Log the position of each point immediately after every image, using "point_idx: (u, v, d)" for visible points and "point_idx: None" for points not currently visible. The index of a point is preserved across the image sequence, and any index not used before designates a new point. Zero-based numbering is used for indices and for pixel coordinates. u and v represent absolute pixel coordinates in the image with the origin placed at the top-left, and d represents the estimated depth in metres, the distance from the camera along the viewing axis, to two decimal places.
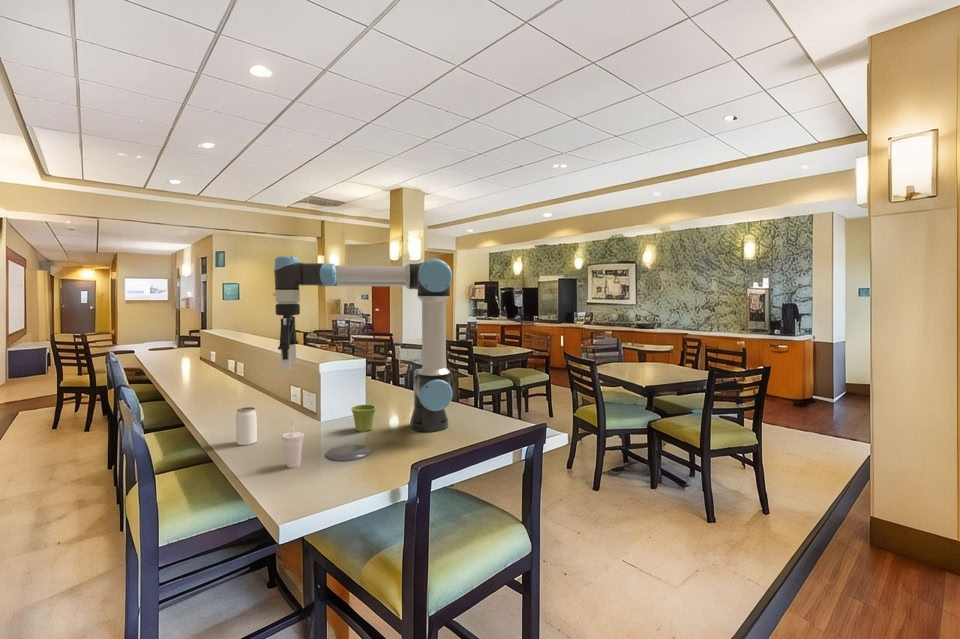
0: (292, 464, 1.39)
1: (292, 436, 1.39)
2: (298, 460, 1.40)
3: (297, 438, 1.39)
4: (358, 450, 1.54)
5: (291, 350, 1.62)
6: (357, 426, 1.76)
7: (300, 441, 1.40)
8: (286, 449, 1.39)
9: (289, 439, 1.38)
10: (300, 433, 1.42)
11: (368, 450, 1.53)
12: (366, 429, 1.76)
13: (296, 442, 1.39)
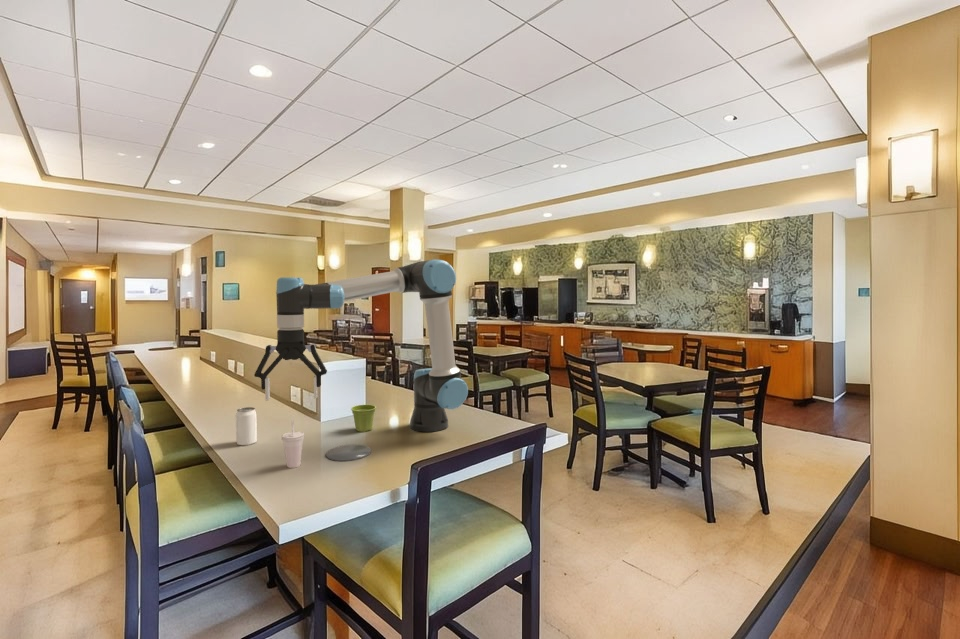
0: (292, 464, 1.39)
1: (292, 436, 1.39)
2: (298, 460, 1.40)
3: (297, 438, 1.39)
4: (358, 450, 1.54)
5: None
6: (357, 426, 1.76)
7: (300, 441, 1.40)
8: (286, 449, 1.39)
9: (289, 439, 1.38)
10: (300, 433, 1.42)
11: (368, 450, 1.53)
12: (366, 429, 1.76)
13: (296, 442, 1.39)
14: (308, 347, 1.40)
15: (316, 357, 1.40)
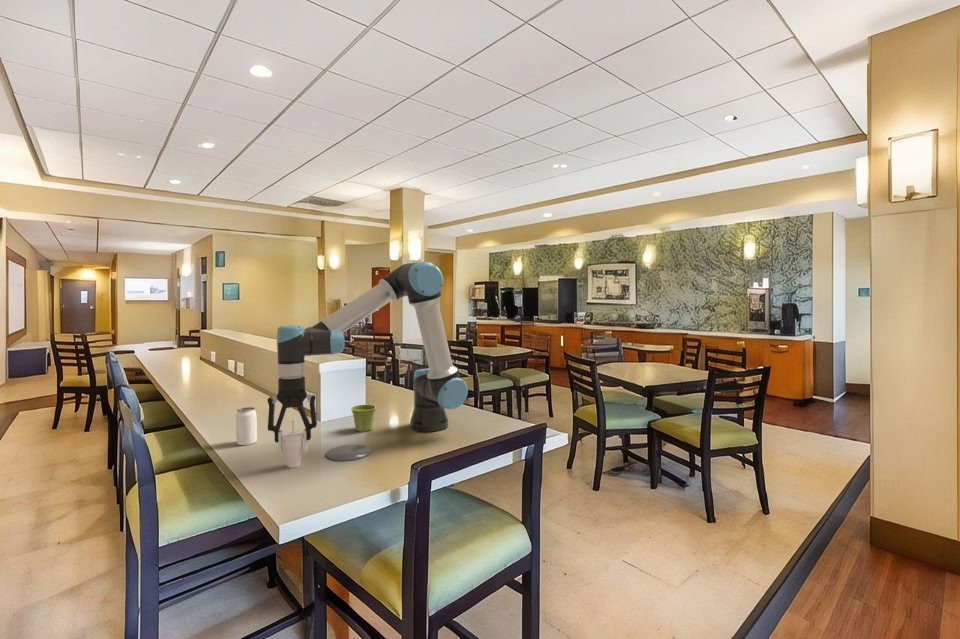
0: (292, 464, 1.39)
1: (292, 436, 1.39)
2: (298, 460, 1.40)
3: (297, 438, 1.39)
4: (358, 450, 1.54)
5: None
6: (357, 426, 1.76)
7: (300, 441, 1.40)
8: (286, 449, 1.39)
9: (289, 439, 1.38)
10: (300, 433, 1.42)
11: (368, 450, 1.53)
12: (366, 429, 1.76)
13: (296, 442, 1.39)
14: (309, 396, 1.41)
15: (312, 409, 1.41)
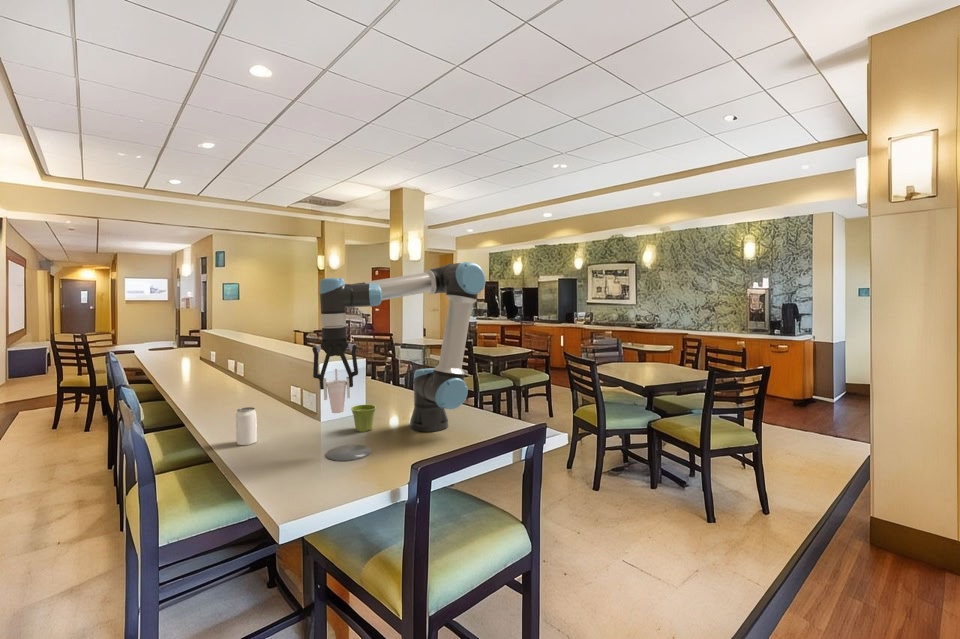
0: (337, 409, 1.47)
1: (336, 383, 1.46)
2: (342, 406, 1.48)
3: (341, 384, 1.46)
4: (358, 450, 1.54)
5: None
6: (357, 426, 1.76)
7: (343, 388, 1.48)
8: (331, 395, 1.46)
9: (334, 385, 1.45)
10: (343, 381, 1.50)
11: (368, 450, 1.53)
12: (366, 429, 1.76)
13: (340, 388, 1.46)
14: (350, 346, 1.48)
15: (354, 357, 1.48)
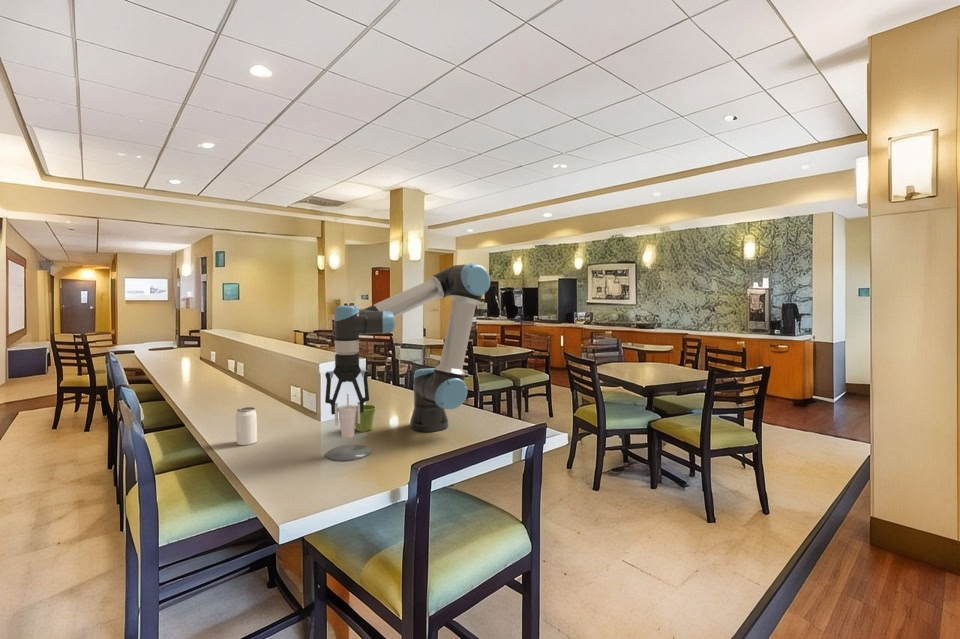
0: (347, 434, 1.50)
1: (347, 408, 1.49)
2: (352, 431, 1.51)
3: (352, 410, 1.49)
4: (358, 450, 1.54)
5: None
6: (357, 426, 1.76)
7: (354, 413, 1.50)
8: (342, 420, 1.49)
9: (345, 411, 1.48)
10: (354, 406, 1.53)
11: (368, 450, 1.53)
12: (366, 429, 1.76)
13: (351, 414, 1.49)
14: (362, 372, 1.51)
15: (366, 383, 1.51)
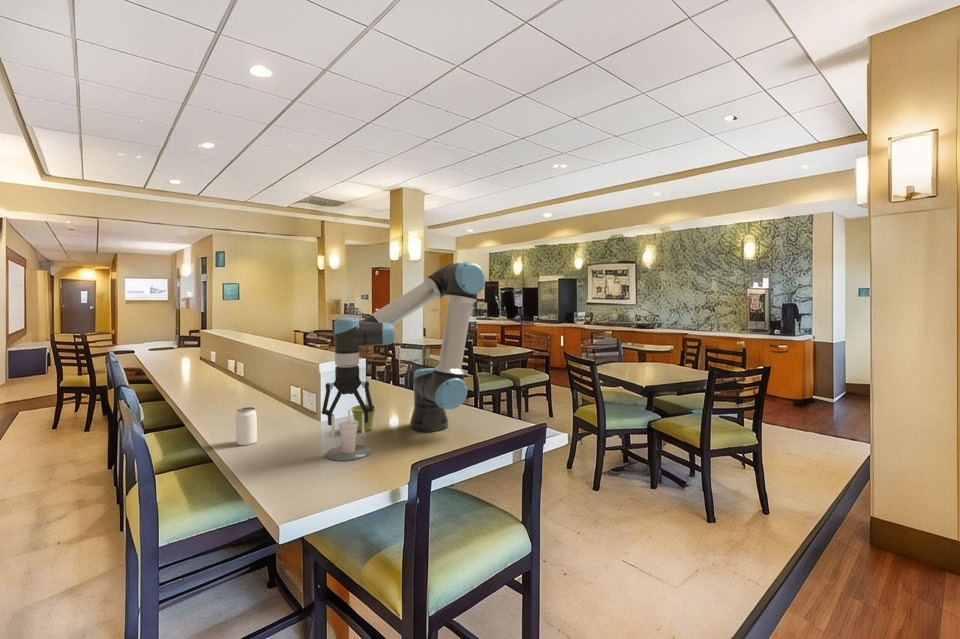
0: (348, 450, 1.50)
1: (349, 424, 1.49)
2: (353, 446, 1.51)
3: (353, 426, 1.49)
4: (358, 450, 1.54)
5: None
6: None
7: (355, 429, 1.51)
8: (343, 436, 1.50)
9: (346, 427, 1.48)
10: (355, 421, 1.53)
11: (368, 450, 1.53)
12: (366, 429, 1.76)
13: (352, 429, 1.50)
14: (363, 383, 1.52)
15: (368, 394, 1.51)
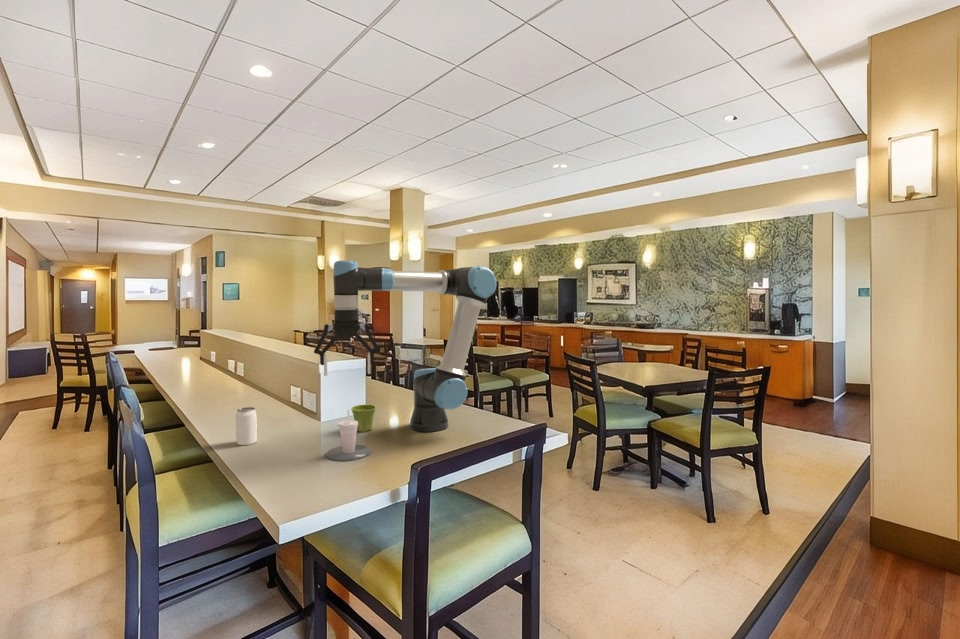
0: (348, 450, 1.50)
1: (348, 424, 1.49)
2: (353, 446, 1.51)
3: (353, 426, 1.49)
4: (358, 450, 1.54)
5: None
6: (357, 426, 1.76)
7: (355, 429, 1.51)
8: (343, 436, 1.50)
9: (346, 426, 1.49)
10: (354, 421, 1.53)
11: (368, 450, 1.53)
12: (366, 429, 1.76)
13: (352, 429, 1.50)
14: (362, 326, 1.51)
15: (370, 335, 1.51)
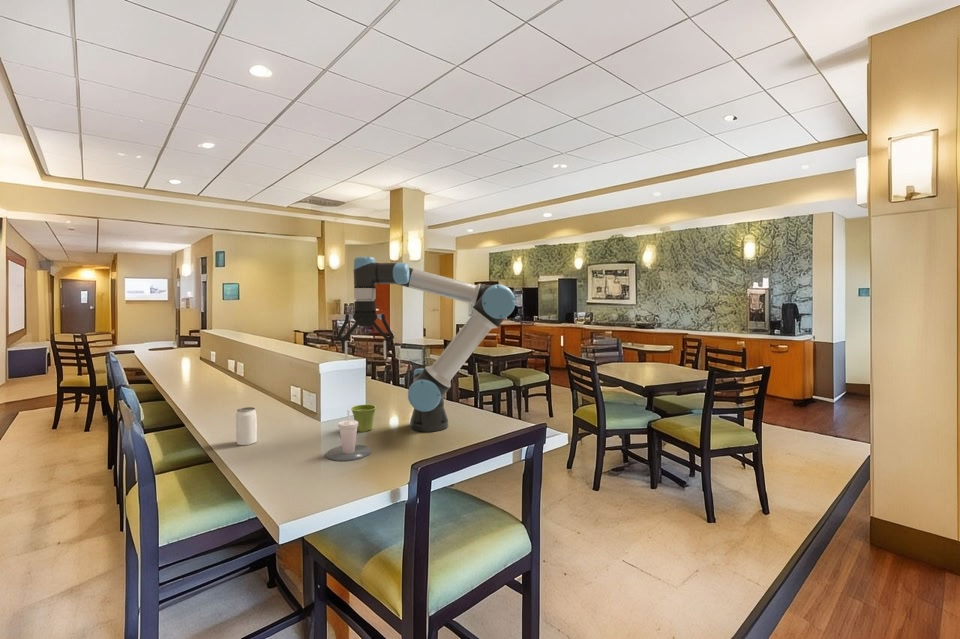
0: (348, 450, 1.50)
1: (348, 424, 1.50)
2: (353, 446, 1.51)
3: (353, 426, 1.49)
4: (358, 450, 1.54)
5: None
6: (357, 426, 1.76)
7: (355, 429, 1.51)
8: (343, 436, 1.50)
9: (346, 426, 1.49)
10: (354, 421, 1.53)
11: (368, 450, 1.53)
12: (366, 429, 1.76)
13: (352, 429, 1.50)
14: (379, 316, 1.67)
15: (386, 324, 1.67)
